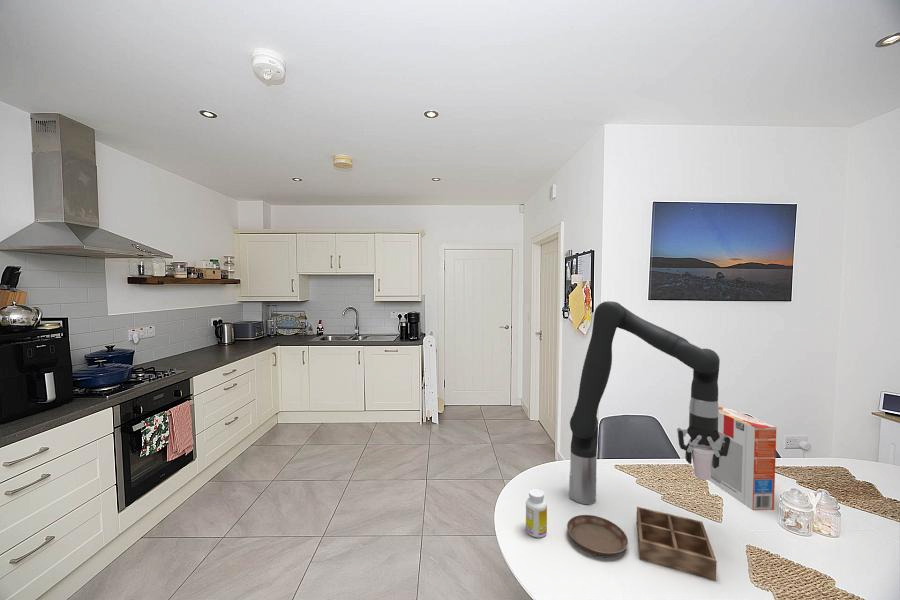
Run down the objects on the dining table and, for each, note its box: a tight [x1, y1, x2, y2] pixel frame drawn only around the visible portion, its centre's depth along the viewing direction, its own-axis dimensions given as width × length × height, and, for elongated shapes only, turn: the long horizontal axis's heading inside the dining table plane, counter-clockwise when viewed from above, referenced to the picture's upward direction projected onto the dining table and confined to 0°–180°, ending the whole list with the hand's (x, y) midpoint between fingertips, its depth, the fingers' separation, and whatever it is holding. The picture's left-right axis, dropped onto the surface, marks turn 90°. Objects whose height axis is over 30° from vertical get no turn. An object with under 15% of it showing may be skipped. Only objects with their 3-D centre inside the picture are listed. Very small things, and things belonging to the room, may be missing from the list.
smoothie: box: [691, 445, 714, 481], centre depth 115 cm, size 6×6×14 cm
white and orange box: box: [707, 405, 777, 511], centre depth 141 cm, size 23×8×30 cm, turn 3°
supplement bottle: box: [525, 488, 548, 538], centre depth 117 cm, size 7×7×13 cm
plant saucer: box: [566, 514, 629, 558], centre depth 113 cm, size 18×18×3 cm
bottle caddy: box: [636, 506, 718, 582], centre depth 110 cm, size 18×18×6 cm
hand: (701, 464), depth 115 cm, fingers closed on smoothie, 6 cm apart
